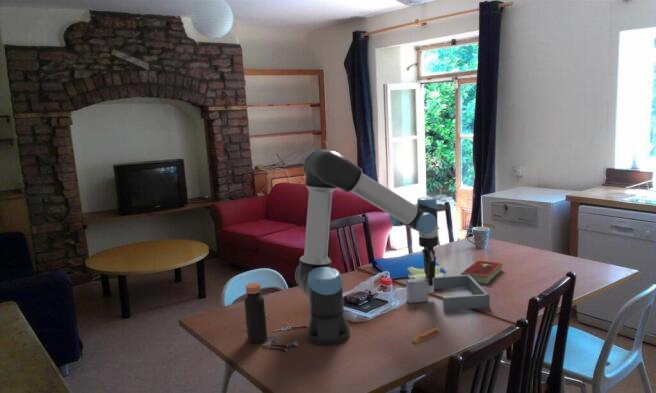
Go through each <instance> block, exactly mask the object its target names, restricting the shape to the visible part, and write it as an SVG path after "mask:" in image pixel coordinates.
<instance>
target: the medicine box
mask: <svg viewBox="0 0 656 393" xmlns="http://www.w3.org/2000/svg"><path fill="white" fill-rule="evenodd" d="M405 283H406V284H405V285H406V300H407V302H408V303H409V304H414V303H415V304H416V303H425V302H429V293H428V282H427V280H426V278H425V277H422V278H412V279H406V282H405Z"/></svg>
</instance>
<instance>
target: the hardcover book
mask: <svg viewBox="0 0 656 393" xmlns="http://www.w3.org/2000/svg"><path fill="white" fill-rule="evenodd" d="M503 264H504V263H502V262H495V261H488V260H481V259H478V260H476V261H475V262H474V263H473V264H471V265H470V266H469V267H466V269H464V270H463V271H462V272H461V273H460V275H470V276H471V277H472V278H473V279H474V280H475V281H476V282H477V283H478V284H484V283H485V285H486V284H488V283H490V282H489V281H490V280H491V279H492V278H493V277H494V276H495V275H496V274H497V273H498V274H500V273H501V272H502V271H501V270H502V269H503V267H502V266H503ZM500 271H501V272H500ZM499 272H500V273H499ZM498 274H497V275H498ZM497 275H496V276H497ZM496 276H495V277H496ZM495 277H494V278H495ZM494 278H493V279H494ZM493 279H492V280H493ZM492 280H491V281H492Z"/></svg>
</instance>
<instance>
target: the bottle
mask: <svg viewBox="0 0 656 393" xmlns="http://www.w3.org/2000/svg"><path fill="white" fill-rule="evenodd" d="M245 293H246V298H244V300H243V301H244V311H245V322H246V323H245V324H246V334H247V341H248V342H249V343H250V344H260V343H264V342H265V341H266V340H267V339H268V332H267V331H268V330H267V319H266V308H265V306H266V304H265V298H264V296H263V295H261V284H260V283H257V282H253V283H247V284H246V286H245Z"/></svg>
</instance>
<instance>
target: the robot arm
mask: <svg viewBox="0 0 656 393" xmlns="http://www.w3.org/2000/svg"><path fill="white" fill-rule="evenodd" d="M302 166H303V167H302V168H303V172H304V174H305V184H304V186H305V187H306V188H307V190H308V199H307V213H306V214H307V215H306V226H305V240H304V252H303V255H301V257H299V263H298V264H299V265H298V266H297V267H296V269H295V274H294V275H295V276H294V278H295V282H296V285H297V287H298V288H299V289H300V290H301V291H302V292H303V293H304V294H305V296H307V297H308V299H309V312H310V316H309V320H308V325H307V329H306V338H307V340H308V341H309V342H310V343H311V344H315V345H318V346H333V345H338V344H341V343H343V342H345V341H347V340H348V339H349V338H350V336H351V332H350V331H351V330H350V326H349V323H348V320H347V318H346V316H345V314H344V313H345V312H344V293H343V292H344V291H343V279H342V273H340V271H339V270H338V269H336V268H332V266H331V264H332V260H331V259H330V257H329V256H328V251H329V237H330V224H331V215H332V214H331V213H332V200H333V193H334V191H335V190H337V189H340V190H341V191H343V192H346V193H353V194H354V195H355V196H358V197H360V198H361V199H363V200H364V201H366V202H368V203H369V204H371V205H373V206H375V207H377V208H378V209H379V210H382V211H383V212H385V213H386V214H388V218H389V222H390V224H391V225H392V226H393V227H401V226H405V227H407V228H409V229H412V230H415V231H416V232H418V245H419V247H421V248H422V255H423V256H422V258H423V268H424V275H425V277H424V278H425V279H426V280H427V282H428V294H433V293H435V289H434V278H435V277H436V260H437V257H436V256H435V255H436V252H435V250H434V248H436V247H437V246H439V236H438V234H439V230H440V227H439V226H438V203H437V199H436V198H435V197H432V196H422V197H418V198H417V203H415V204H414V203H412V202H411V201H409V200H408V199H405V198H403V197H402V196H400V195H398V194H397V193H396V192H394V191H392V190H391V189H389V188H387V187H386V186H384V185H383V184H381V182H378V181H376V180H375V179H373V178H372V177H370V176H368V175H367V174H365V173H363V169H362V168H361V167H360V166H358V165H356V164H355V163H353V162H352V161H350V160H349V159H348V158H347V157H345V156H344V155H342V154H341V153H339V152H337V151H334V150H328V149H324V148H323V149H322V148H321V149H319V148H318V149H316V150H315V149H314V150H313V151H311V152H309V153H307V155H306V156H305V158H304V160H303V163H302Z"/></svg>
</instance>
